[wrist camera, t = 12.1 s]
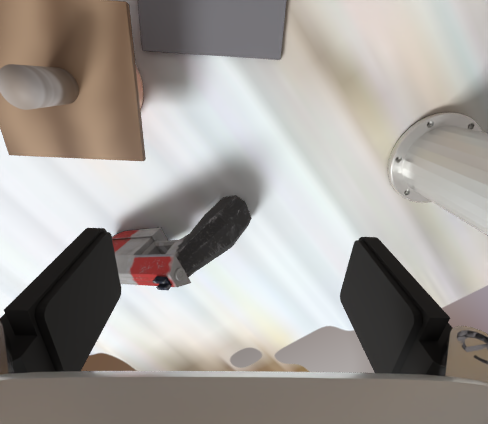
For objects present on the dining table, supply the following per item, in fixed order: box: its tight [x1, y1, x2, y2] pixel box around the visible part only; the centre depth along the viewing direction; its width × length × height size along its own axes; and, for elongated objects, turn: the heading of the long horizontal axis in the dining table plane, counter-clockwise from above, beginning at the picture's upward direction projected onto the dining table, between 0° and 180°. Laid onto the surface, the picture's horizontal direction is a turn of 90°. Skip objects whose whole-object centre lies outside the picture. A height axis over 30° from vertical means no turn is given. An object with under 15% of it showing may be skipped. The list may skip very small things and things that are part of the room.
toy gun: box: [112, 196, 251, 290], centre depth 38 cm, size 5×22×15 cm, turn 110°
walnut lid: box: [0, 0, 145, 161], centre depth 24 cm, size 14×14×6 cm
